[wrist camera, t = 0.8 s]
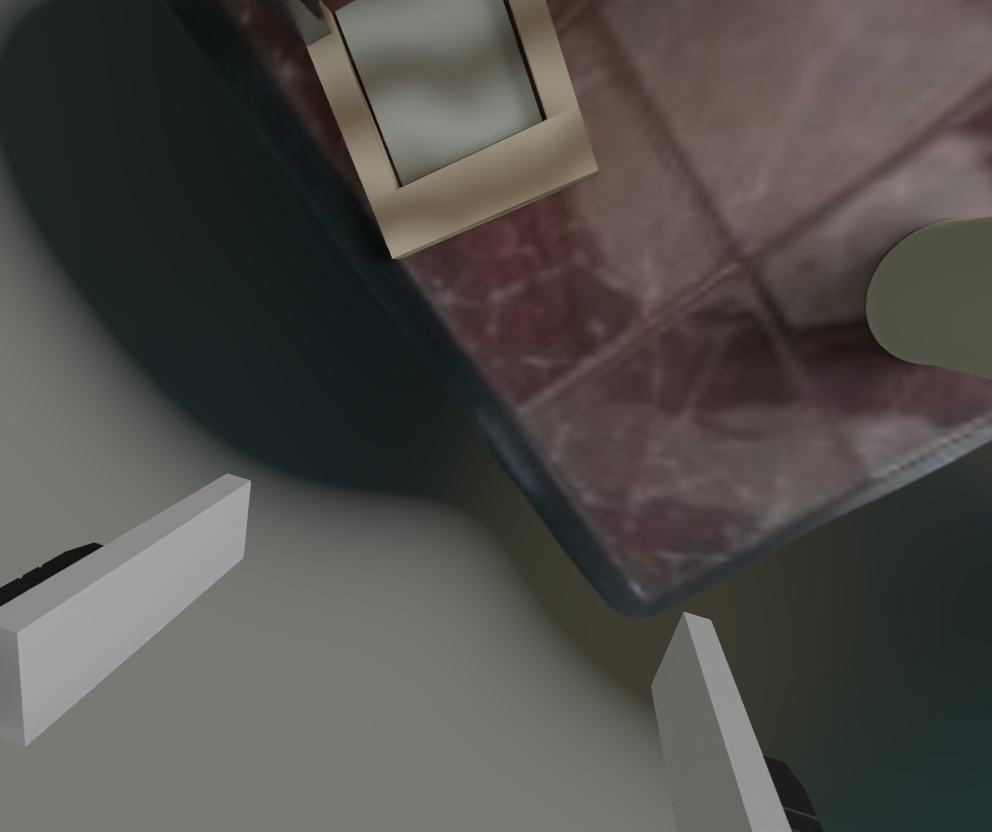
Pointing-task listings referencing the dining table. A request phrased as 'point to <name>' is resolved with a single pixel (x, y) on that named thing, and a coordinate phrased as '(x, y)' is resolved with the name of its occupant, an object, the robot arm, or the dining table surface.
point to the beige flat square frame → (451, 112)
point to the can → (937, 297)
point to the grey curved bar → (300, 18)
